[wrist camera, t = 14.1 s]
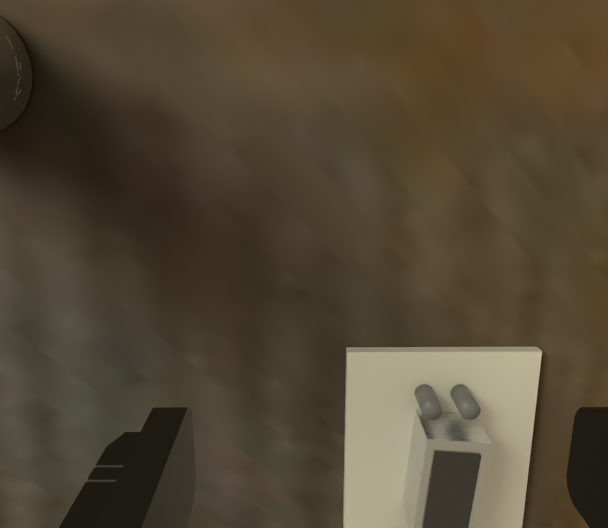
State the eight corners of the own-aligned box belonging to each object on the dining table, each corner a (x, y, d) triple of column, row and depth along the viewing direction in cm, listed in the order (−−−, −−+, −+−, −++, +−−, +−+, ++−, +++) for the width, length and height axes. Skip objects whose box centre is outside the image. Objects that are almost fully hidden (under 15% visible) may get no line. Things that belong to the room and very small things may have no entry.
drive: (402, 500, 49) (412, 539, 44) (415, 409, 47) (427, 440, 42) (458, 504, 49) (474, 543, 45) (474, 413, 47) (492, 445, 42)
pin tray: (342, 547, 51) (345, 582, 48) (346, 347, 46) (350, 368, 43) (514, 546, 52) (532, 581, 48) (537, 346, 46) (558, 367, 43)
